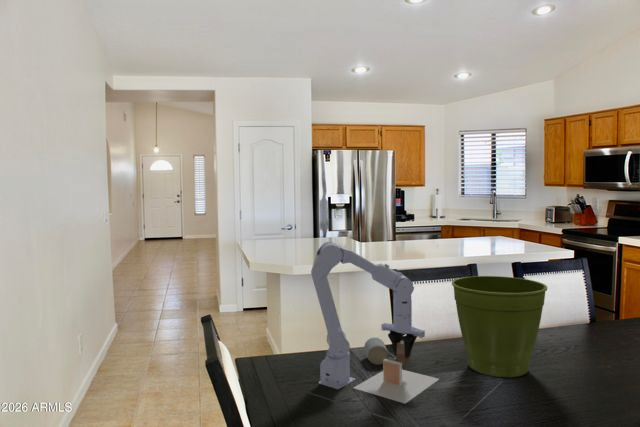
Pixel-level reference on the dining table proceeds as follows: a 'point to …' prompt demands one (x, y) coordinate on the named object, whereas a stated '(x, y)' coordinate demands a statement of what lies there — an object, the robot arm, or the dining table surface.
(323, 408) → the dining table surface
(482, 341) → the plant pot
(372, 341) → the ceramic mug
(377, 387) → the mat
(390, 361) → the tile
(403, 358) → the wooden block
